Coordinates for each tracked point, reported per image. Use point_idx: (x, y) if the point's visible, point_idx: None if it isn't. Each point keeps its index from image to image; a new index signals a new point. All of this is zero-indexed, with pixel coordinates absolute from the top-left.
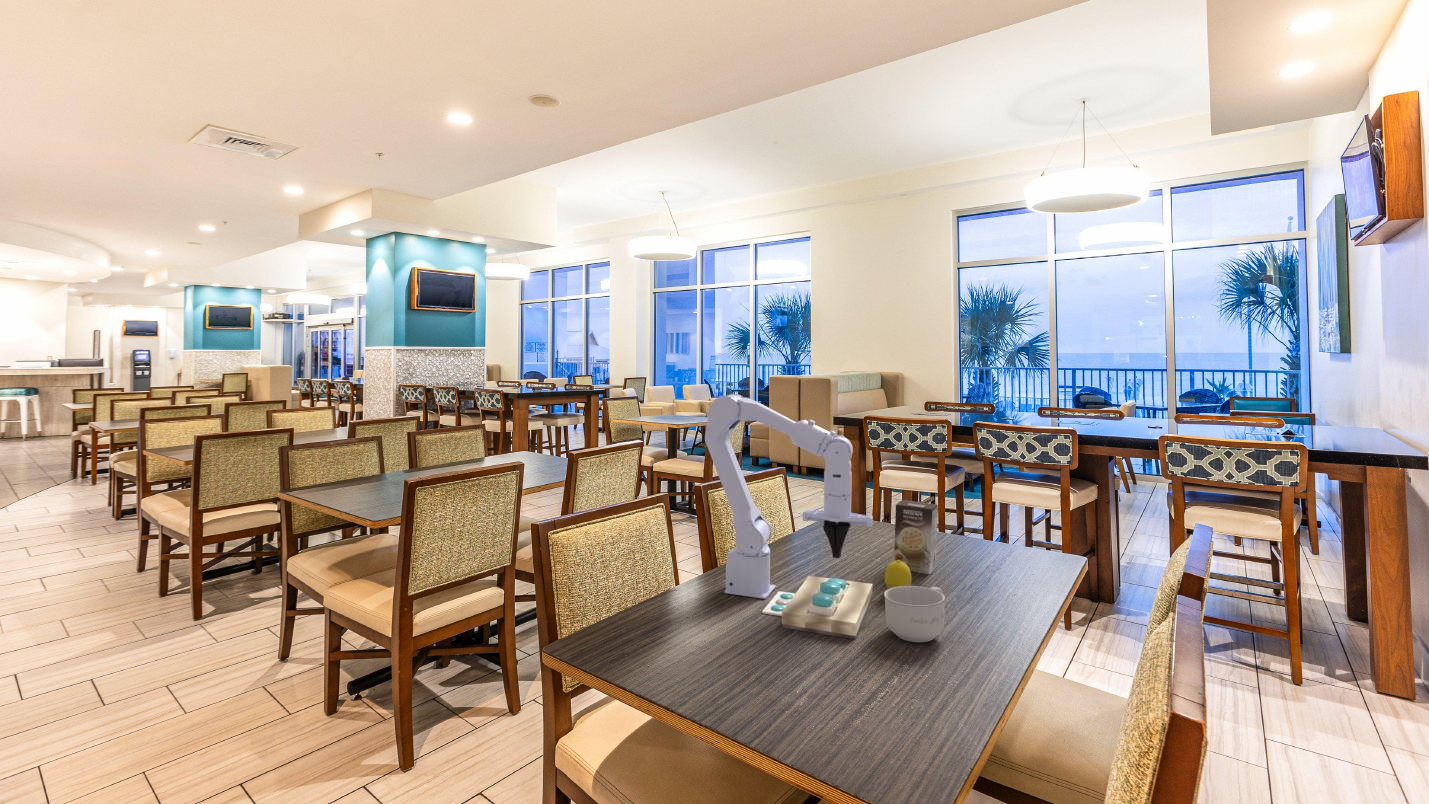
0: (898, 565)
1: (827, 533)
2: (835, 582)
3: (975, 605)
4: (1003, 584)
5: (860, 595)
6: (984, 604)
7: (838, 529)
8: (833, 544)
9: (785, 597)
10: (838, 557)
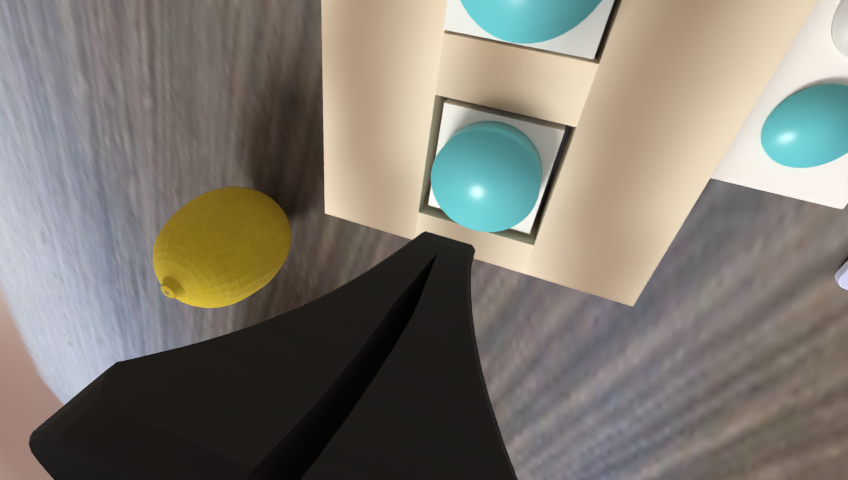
0: (171, 259)
1: (475, 446)
2: (490, 169)
3: (74, 154)
4: (86, 296)
5: (356, 38)
6: (61, 165)
7: (205, 441)
8: (431, 307)
9: (837, 97)
10: (424, 232)
